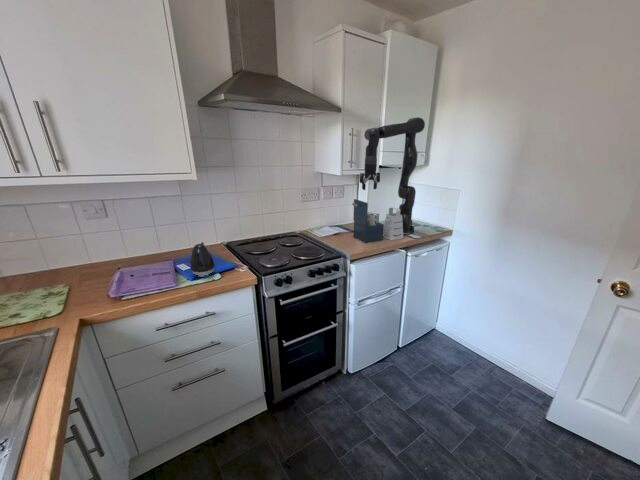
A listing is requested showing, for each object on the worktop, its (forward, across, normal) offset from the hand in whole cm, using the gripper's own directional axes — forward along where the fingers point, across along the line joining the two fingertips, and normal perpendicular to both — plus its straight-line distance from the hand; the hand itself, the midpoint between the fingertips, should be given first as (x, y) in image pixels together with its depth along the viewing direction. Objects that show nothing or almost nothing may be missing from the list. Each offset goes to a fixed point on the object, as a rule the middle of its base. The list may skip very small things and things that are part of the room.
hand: (369, 189), depth 193 cm
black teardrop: (+31, -104, -17) cm, 110 cm away
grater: (+32, +15, -9) cm, 36 cm away
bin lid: (+13, -9, -4) cm, 16 cm away
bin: (+32, -2, -4) cm, 32 cm away
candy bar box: (+31, -1, -4) cm, 31 cm away
